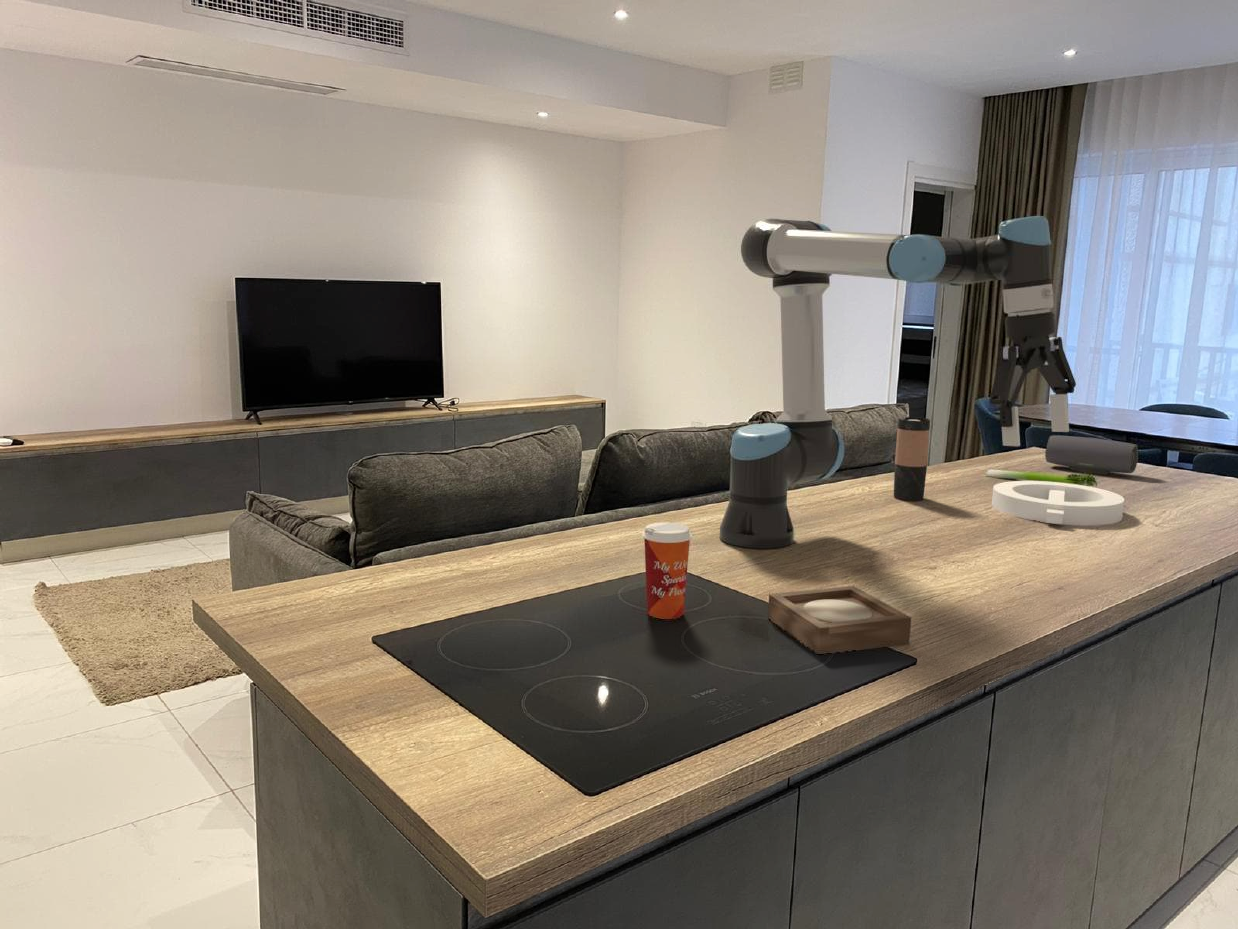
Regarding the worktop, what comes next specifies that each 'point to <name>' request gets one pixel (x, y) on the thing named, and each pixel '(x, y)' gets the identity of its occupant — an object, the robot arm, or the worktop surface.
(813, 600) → the wooden coaster holder
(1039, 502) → the white circle with bar
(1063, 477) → the leek
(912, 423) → the travel mug
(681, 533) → the paper cup
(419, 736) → the worktop surface
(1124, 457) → the bluetooth speaker
